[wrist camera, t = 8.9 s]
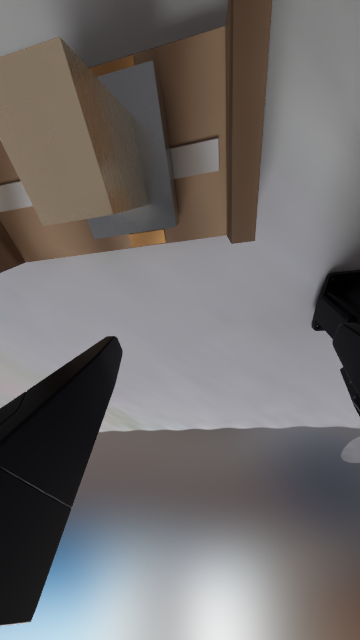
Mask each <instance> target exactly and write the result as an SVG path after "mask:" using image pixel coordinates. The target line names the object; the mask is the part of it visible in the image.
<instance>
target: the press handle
mask: <svg viewBox="0 0 360 640" xmlns="http://www.w3.org/2000/svg"><path fill="white" fill-rule="evenodd" d="M0 141H1V143H2V145H3V147H4V149H5V151H6V153H7V155H8V157H9V159H10V161H11V163H12V165H13V167H14V169H15V171H16V173H17V175H18V177H19V179H20V181H21V183H22V185H23V187H24V189H25V191H26V193H27V195H28V197H29V199H30V201H31V203H32V205H33V207H34V209H35V211H36V213H37V215H38V217H39V219H40V221H41V223H42V225H43V226H48V225H54V224H60V223H66V222H72V221H78V220H84V219H87V221H88V224H89V226H90V229H91V232H92V234H93V237H94V239H98V238H105V237H112V236H119V235H125V234H132V233H139V232H145V231H152V230H159V229H166V228H172V227H177V225H178V224H179V222H180V220H179V213H178V205H177V197H176V190H175V182H174V174H173V167H172V159H171V152H170V144H169V136H168V129H167V121H166V113H165V106H164V98H163V91H162V84H161V81H160V78H159V76H158V73H157V70H156V68H155V65H154V62H153V60H152V61H149V62H145V63H142V64H139V65H135V66H132V67H128V68H125V69H122V70H118V71H115V72H112V73H108V74H105V75H102V76H98V77H96V76H95V75H94V74H93V72H92V71H91V70H90V69H89V68H88V67H87V66H86V65H85V64H84V63H83V62H82V60H81V59H80V58H79V57H78V56H77V55H76V54H75V53H74V52H73V51H72V50H71V49H70V47H69V46H68V45H67V44H66V43H65V42H64V41H63V40H62V39H61V38H60V37H57V38H54V39H52V40H49V41H46V42H43V43H40V44H37V45H34V46H31V47H28V48H26V49H23V50H20V51H17V52H14V53H11V54H8V55H5V56H3V57H0Z"/></svg>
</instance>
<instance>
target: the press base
mask: <svg viewBox="0 0 360 640" xmlns="http://www.w3.org/2000/svg"><path fill="white" fill-rule="evenodd" d="M271 11H272V0H229V4H228V11H227V18H226V25H225V26H224V27H220V28H217V29H214V30H211V31H207V32H204V33H201V34H198V35H194V36H191V37H188V38H185V39H181V40H178V41H175V42H172V43H168V44H165V45H162V46H159V47H155V48H152V49H149V50H146V51H142V52H139V53H136V54H133V55H129V56H126V57H123V58H120V59H116V60H113V61H110V62H107V63H104V64H100V65H97V66H94V67H91V68H89V69H90V70H91V71H92V72H93V74H94V75H95V76H96V77H98V76H102V75H105V74H108V73H112V72H115V71H118V70H122V69H125V68H128V67H132V66H135V65H139V64H142V63H145V62H149V61H152V60H153V62H154V65H155V68H156V70H157V73H158V76H159V78H160V81H161V84H162V91H163V98H164V106H165V113H166V121H167V129H168V136H169V144H170V152H171V159H172V167H173V174H174V182H175V190H176V197H177V205H178V213H179V220H180V222H179V224H178V225H177V227H172V228H166V229H159V230H152V231H145V232H139V233H132V234H125V235H119V236H112V237H105V238H98V239H94V237H93V234H92V232H91V229H90V226H89V224H88V221H87V219H84V220H78V221H72V222H66V223H60V224H54V225H48V226H43V225H42V223H41V221H40V219H39V217H38V215H37V213H36V211H35V209H34V207H33V205H32V203H31V201H30V199H29V197H28V195H27V193H26V191H25V189H24V187H23V185H22V183H21V181H20V179H19V177H18V175H17V173H16V171H15V169H14V167H13V165H12V163H11V161H10V159H9V157H8V155H7V153H6V151H5V149H4V147H3V145H2V143H1V141H0V273H1V272H3V271H6V270H8V269H11V268H13V267H16V266H18V265H20V264H23V263H25V262H32V261H39V260H46V259H54V258H61V257H69V256H76V255H83V254H91V253H98V252H105V251H113V250H120V249H127V248H135V247H142V246H149V245H157V244H164V243H172V242H179V241H186V240H194V239H201V238H208V237H216V236H223V235H227V237H228V238H229V240H230V242H231V244H233V243H241V242H249V241H255V231H256V217H257V204H258V190H259V176H260V162H261V148H262V135H263V121H264V107H265V93H266V80H267V66H268V52H269V38H270V24H271Z"/></svg>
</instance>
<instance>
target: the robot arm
mask: <svg viewBox="0 0 360 640" xmlns="http://www.w3.org/2000/svg"><path fill="white" fill-rule="evenodd" d="M333 277H335V278H334V279H333V280H331V279H332V278H333ZM313 317H314V319H313V323H312V328H313V329H314V330H315V331H324V330H325V331H326V332H327V333H328V334H329V335H330V337H331V338H332V339H333V346H334V349H335V351H336V353H337V355H338V357H339V359H340V361H341V363H342V365H343V368H341V369H340V371H341V374H342V376H343V379H344V381H345V384H346V386H347V389H348V391H349V394H350V397H351V399H352V402H353V404H354V407H355V409H356V410H357V412H358V414H359V416H360V270H356V271H346V272H335V273H331V274H329V275H328V276H327V277H326V280H325V283H324V287H323V290H322V293H321V295H320V297H319V299H318V303H317V306H316V309H315V313H314V316H313ZM318 325H319V326H318ZM316 326H318V327H316ZM121 358H122V348H121V346H120V343H119V341H118V339H117V337H115V336H108V337H105V338H104V339H102V340H101V341H99V342H98V343H96V344H95V345H94V346H92V347H91V348H89V349H88V350H86V351H85V352H83V353H82V354H80V355H79V356H77V357H76V358H74V359H73V360H71V361H70V362H68V363H67V364H66V365H64V366H63V367H61V368H60V369H58V370H57V371H55V372H54V373H52V374H51V375H49V376H48V377H46V378H45V379H43V380H42V381H40V382H39V383H37V384H36V385H35V386H33V387H32V388H30V389H29V390H27V392H24V393H23V394H21V395H20V396H18V397H17V398H15V399H14V400H12V401H11V402H9V403H8V404H6V405H5V406H3V407H2V408H0V626H6V625H14V624H22V623H29V622H31V620H32V617H33V615H34V612H35V610H36V607H37V604H38V601H39V599H40V596H41V593H42V590H43V587H44V585H45V582H46V579H47V576H48V573H49V571H50V567H51V565H52V562H53V559H54V556H55V554H56V551H57V548H58V545H59V542H60V540H61V537H62V534H63V531H64V528H65V525H66V523H67V520H68V517H69V514H70V511H71V507H72V505H73V502H74V499H75V497H76V494H77V491H78V488H79V485H80V483H81V480H82V477H83V474H84V471H85V468H86V466H87V463H88V460H89V457H90V454H91V452H92V449H93V446H94V443H95V440H96V437H97V434H98V432H99V429H100V426H101V423H102V420H103V418H104V415H105V412H106V409H107V406H108V404H109V401H110V398H111V395H112V392H113V389H114V386H115V383H116V379H117V375H118V371H119V367H120V362H121Z"/></svg>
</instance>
